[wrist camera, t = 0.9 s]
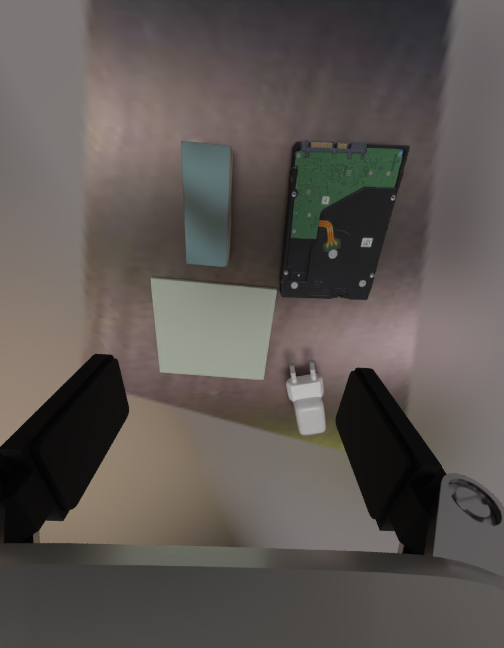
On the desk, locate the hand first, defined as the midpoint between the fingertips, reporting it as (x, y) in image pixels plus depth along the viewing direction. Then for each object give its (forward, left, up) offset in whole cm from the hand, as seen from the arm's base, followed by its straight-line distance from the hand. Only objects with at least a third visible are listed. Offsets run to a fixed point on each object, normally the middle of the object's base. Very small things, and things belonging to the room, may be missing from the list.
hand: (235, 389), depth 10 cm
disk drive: (-5, +9, -21) cm, 24 cm away
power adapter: (+16, +10, -21) cm, 28 cm away
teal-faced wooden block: (-6, -4, -21) cm, 22 cm away
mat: (+9, -3, -21) cm, 23 cm away
